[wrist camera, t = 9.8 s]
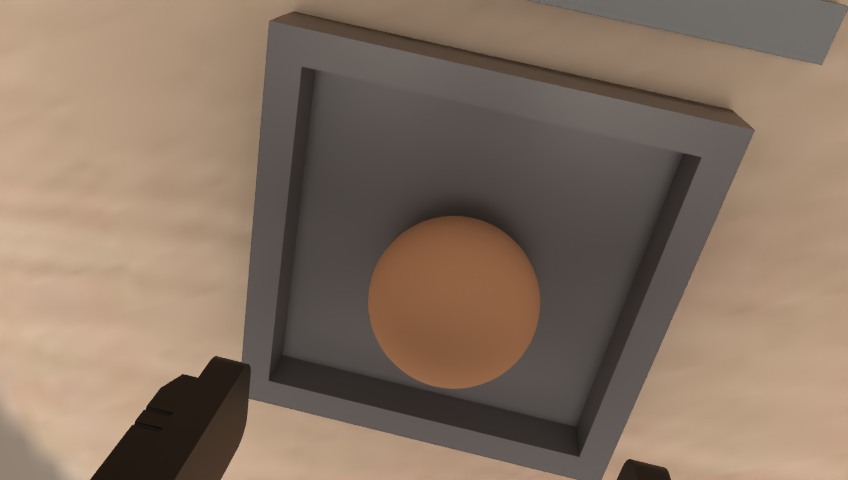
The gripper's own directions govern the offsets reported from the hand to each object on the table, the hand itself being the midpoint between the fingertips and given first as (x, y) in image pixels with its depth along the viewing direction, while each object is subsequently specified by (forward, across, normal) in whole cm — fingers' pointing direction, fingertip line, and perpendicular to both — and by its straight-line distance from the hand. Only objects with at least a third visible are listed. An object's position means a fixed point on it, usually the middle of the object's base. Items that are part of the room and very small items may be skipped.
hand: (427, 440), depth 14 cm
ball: (+6, 0, 0) cm, 6 cm away
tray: (+9, 0, 0) cm, 9 cm away
